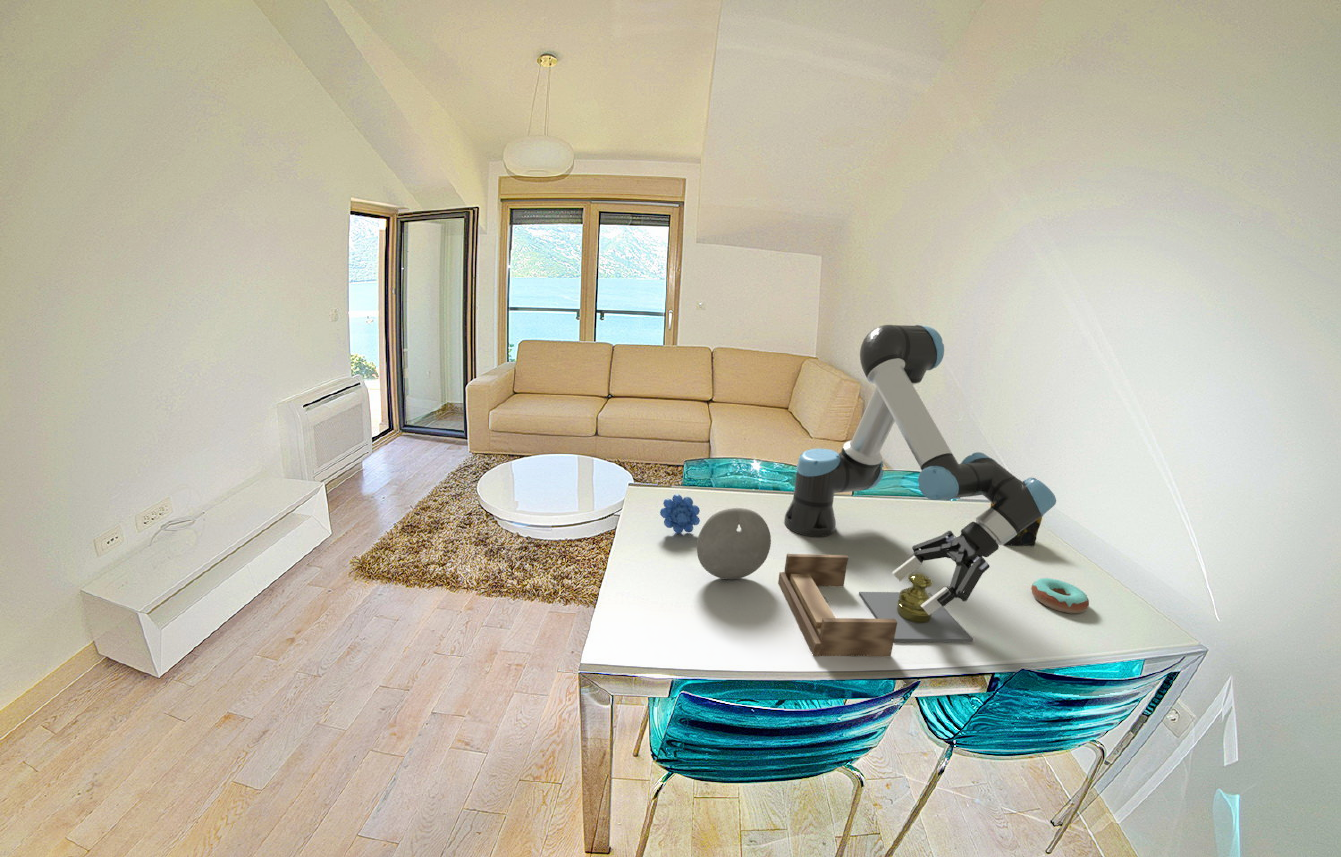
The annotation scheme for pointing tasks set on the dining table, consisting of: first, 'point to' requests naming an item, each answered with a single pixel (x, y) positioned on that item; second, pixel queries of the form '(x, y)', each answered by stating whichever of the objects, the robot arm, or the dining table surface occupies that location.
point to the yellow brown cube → (1025, 535)
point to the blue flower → (680, 513)
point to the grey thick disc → (733, 543)
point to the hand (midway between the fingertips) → (909, 592)
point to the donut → (1060, 595)
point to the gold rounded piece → (915, 599)
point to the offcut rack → (818, 618)
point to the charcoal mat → (934, 630)
